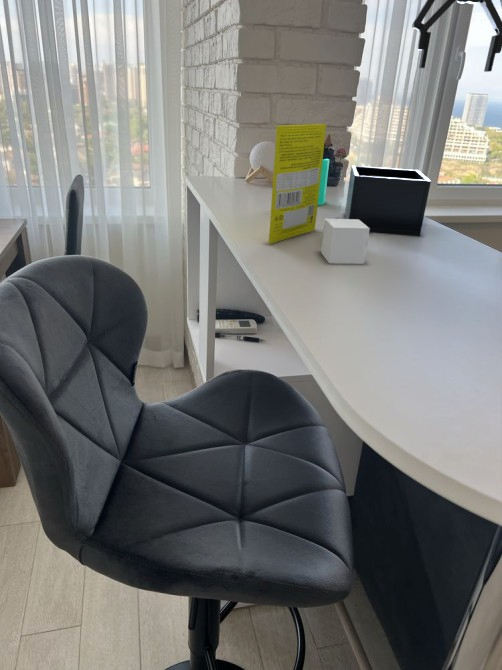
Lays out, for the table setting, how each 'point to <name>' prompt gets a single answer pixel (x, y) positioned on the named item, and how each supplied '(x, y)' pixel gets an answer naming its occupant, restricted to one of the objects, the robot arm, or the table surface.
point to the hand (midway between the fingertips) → (454, 70)
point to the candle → (323, 181)
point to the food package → (296, 180)
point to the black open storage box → (388, 199)
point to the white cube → (344, 241)
